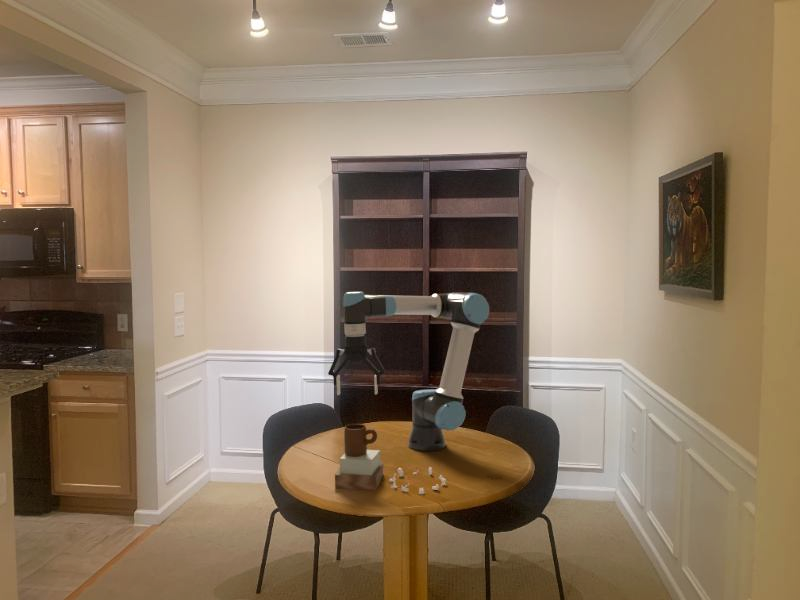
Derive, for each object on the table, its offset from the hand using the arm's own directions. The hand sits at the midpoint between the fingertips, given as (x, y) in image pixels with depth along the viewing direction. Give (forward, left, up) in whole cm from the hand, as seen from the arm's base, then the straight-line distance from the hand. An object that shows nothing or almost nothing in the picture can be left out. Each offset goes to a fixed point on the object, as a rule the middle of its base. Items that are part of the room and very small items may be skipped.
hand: (357, 394), depth 208 cm
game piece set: (-23, +10, -29) cm, 38 cm away
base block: (-2, +10, -29) cm, 30 cm away
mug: (-3, +11, -19) cm, 22 cm away
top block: (-3, +11, -24) cm, 26 cm away
